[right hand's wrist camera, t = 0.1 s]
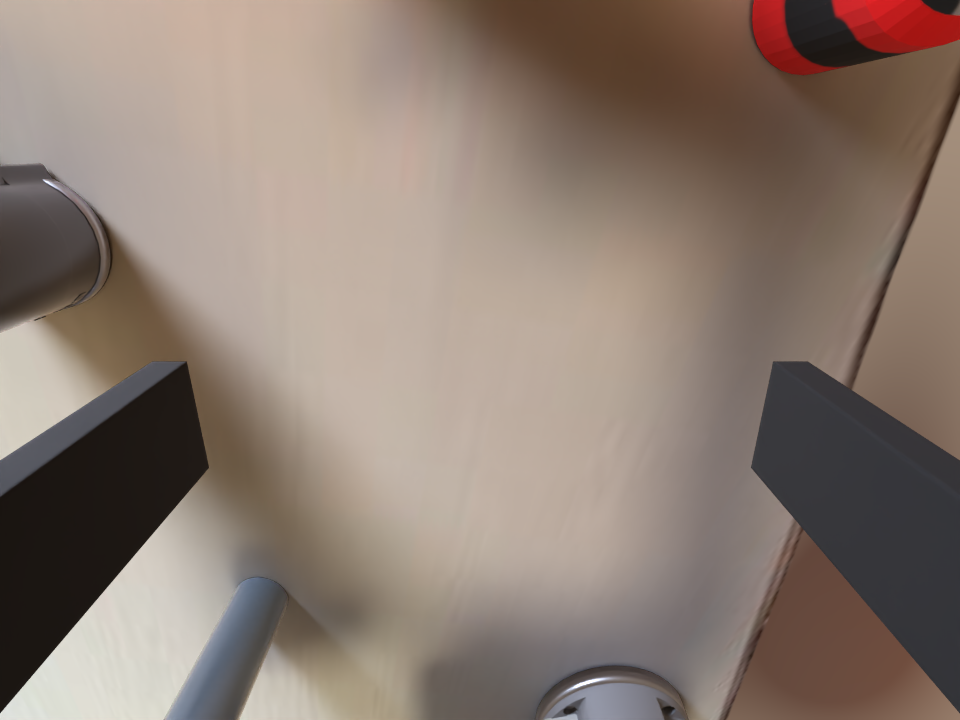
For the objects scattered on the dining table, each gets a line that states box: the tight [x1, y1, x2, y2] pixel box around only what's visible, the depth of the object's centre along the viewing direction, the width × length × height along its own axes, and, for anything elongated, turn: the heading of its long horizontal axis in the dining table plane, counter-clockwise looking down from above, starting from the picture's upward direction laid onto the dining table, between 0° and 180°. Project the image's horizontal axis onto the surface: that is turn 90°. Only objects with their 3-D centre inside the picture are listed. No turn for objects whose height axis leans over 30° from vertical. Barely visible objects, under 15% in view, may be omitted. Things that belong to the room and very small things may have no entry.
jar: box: [164, 577, 288, 720], centre depth 42 cm, size 5×5×19 cm
